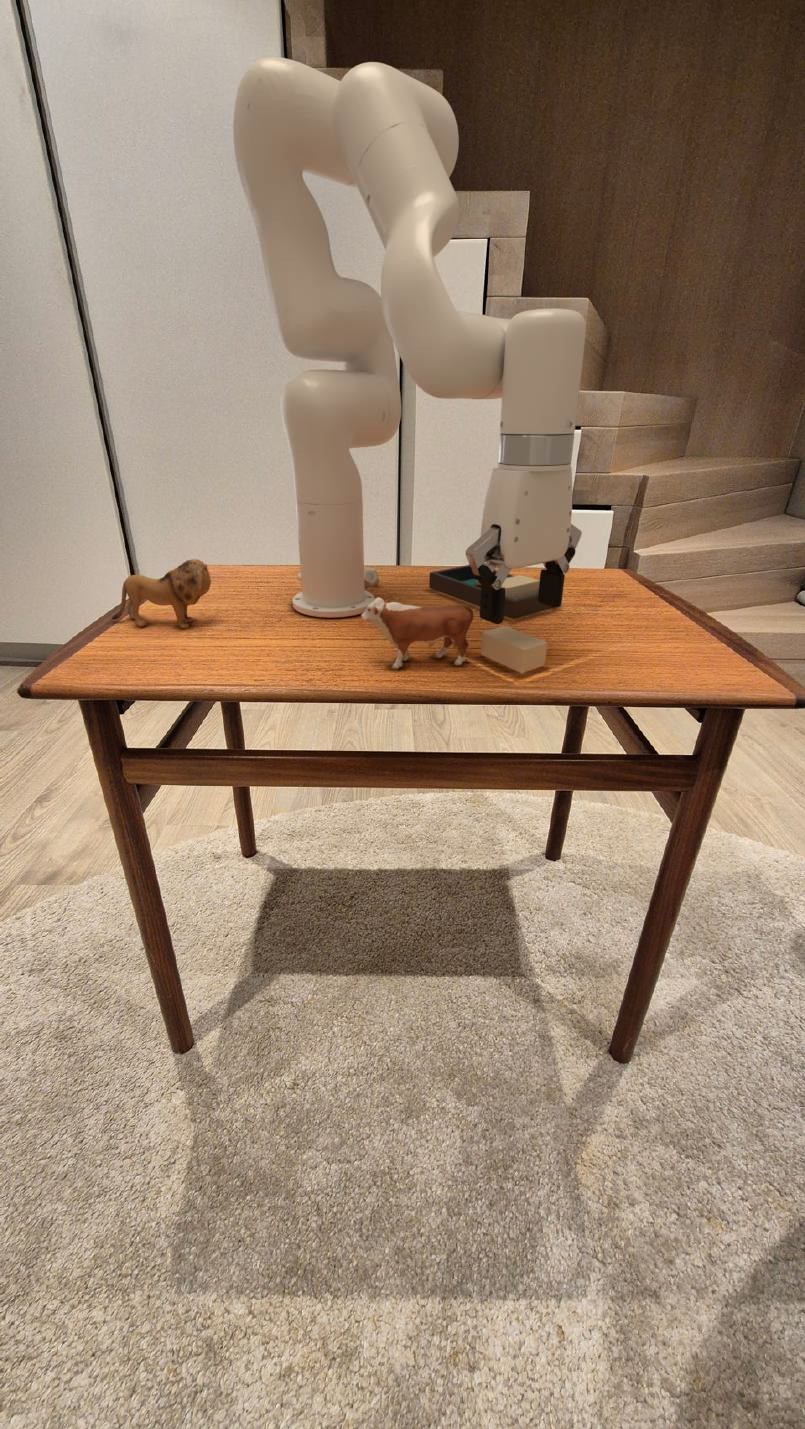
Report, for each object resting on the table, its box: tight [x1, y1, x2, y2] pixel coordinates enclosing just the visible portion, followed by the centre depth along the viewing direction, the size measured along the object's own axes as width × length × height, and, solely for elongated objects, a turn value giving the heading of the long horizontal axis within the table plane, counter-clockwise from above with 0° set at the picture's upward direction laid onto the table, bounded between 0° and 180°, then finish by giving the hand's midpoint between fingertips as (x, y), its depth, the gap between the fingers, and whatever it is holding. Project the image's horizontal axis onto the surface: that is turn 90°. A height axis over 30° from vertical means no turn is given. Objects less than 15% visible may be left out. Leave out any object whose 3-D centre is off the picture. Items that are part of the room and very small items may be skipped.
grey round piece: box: [364, 567, 381, 589], centre depth 101 cm, size 4×4×3 cm
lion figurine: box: [110, 558, 212, 630], centre depth 83 cm, size 15×5×9 cm, turn 92°
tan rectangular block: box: [480, 625, 548, 674], centre depth 73 cm, size 4×7×4 cm, turn 37°
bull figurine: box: [360, 596, 474, 670], centre depth 71 cm, size 4×13×8 cm, turn 94°
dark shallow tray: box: [428, 564, 555, 620], centre depth 95 cm, size 10×19×3 cm, turn 37°
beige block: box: [501, 574, 540, 600], centre depth 92 cm, size 4×7×4 cm, turn 127°
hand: (521, 612), depth 70 cm, fingers open, 9 cm apart
